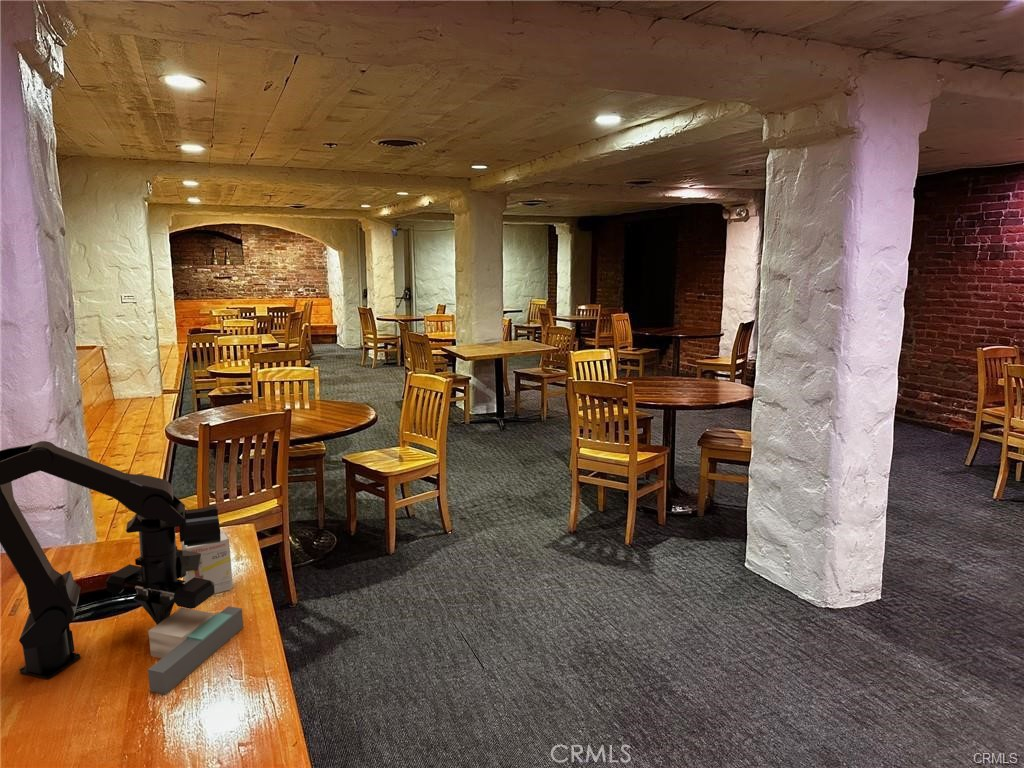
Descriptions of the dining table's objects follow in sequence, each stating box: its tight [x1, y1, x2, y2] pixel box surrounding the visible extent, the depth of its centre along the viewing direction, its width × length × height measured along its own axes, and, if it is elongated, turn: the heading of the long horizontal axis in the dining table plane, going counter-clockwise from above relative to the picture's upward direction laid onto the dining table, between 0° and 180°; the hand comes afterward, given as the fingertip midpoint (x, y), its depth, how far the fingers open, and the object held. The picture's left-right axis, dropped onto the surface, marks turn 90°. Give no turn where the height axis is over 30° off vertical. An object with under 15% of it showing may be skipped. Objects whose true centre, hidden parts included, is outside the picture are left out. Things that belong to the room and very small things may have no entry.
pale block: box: [147, 607, 214, 659], centre depth 120 cm, size 8×7×5 cm
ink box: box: [181, 530, 234, 595], centre depth 139 cm, size 9×5×12 cm, turn 127°
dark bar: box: [147, 606, 244, 695], centre depth 118 cm, size 20×3×4 cm, turn 165°
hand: (163, 627), depth 123 cm, fingers closed
